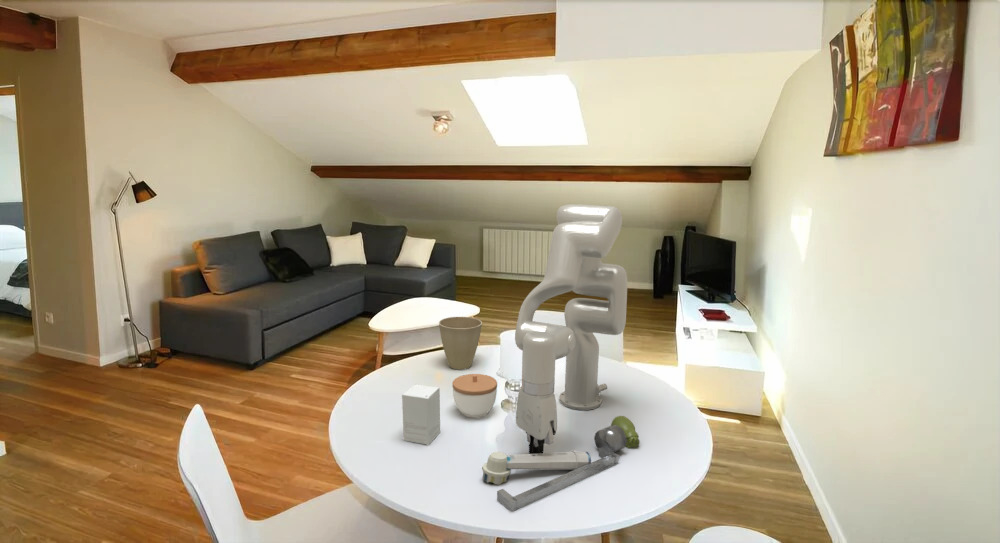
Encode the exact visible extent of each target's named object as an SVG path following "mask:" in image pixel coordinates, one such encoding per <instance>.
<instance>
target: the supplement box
mask: <svg viewBox="0 0 1000 543" xmlns="http://www.w3.org/2000/svg"><path fill="white" fill-rule="evenodd" d="M440 394H441V393H440V387H437V386H430V385H429V386H428V385H422V384H417V383H415V384H414V385H412V386H411V387H410V388H409V389H407V390H406V391H405V392H403V393H402V394H401V399H402V425H403V426H402V427H403V428H402V430H403V431H402V432H403V441H406V442H412V443H417V444H423V445H427V446H428V445H430V444H432V442H433V441H434V440H435V439H436V438H437V437H438V436H439V434H440V433H441V400H440V399H441V398H440V396H441V395H440Z"/></svg>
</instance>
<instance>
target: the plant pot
mask: <svg viewBox="0 0 1000 543" xmlns="http://www.w3.org/2000/svg"><path fill="white" fill-rule="evenodd" d="M438 325H439V326H438V327H439V333H440V339H441V343H442V348H443V351H444V355H445V358H446V360H447V363H448V366H449V367H450V368H451V369H453V370H460V371H461V370H466V369H469V368H470V367H471V365H472V363H473V361H474V358H475V355H476V352H477V349H478V346H479V342H480V338H481V337H480V336H481V332H482V325H483V321H482V320H480V319H479V318H476V317H470V316H450V317H449V316H448V317H446V318H442V319H440V320H439V321H438Z"/></svg>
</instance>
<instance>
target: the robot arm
mask: <svg viewBox="0 0 1000 543" xmlns="http://www.w3.org/2000/svg"><path fill="white" fill-rule="evenodd" d="M556 223H557V225H556V226H555V227H554V229H553V232H552V236H551V242H550V245H549V252H548V256H547V262H546V266H545V272H544V276H543V279H542V281H541V282H540V283H539V284H537V286H535V287H534V288H533V289H532V290H531V291H530V292H529V293H528V295H526V297H525V298H524V300H523V302H522V303H521V306H520V309H519V312H518V317H517V321H516V324H515V325H516V326H515V331H514V332H515V334H514V340H515V341H514V342H515V346H516V347H517V348H518V349H519V350H521V351H522V357H521V358H522V359H521V360H522V362H521V364H522V365H521V386H520V388H519V391H518V394H517V401H516V410H515V424H516V426H517V427H518V428H519V429H521V430H522V431H524V432H525V434H526V439H527V440H526V441H527V442H528V454H539V453H544V448H545V447H544V446H545V444H546V445H547V446H548V445H552V444H554V442H555V440H554V436H556V434H557V428H558V412H557V411H558V409H557V400H556V394H555V382H556V380H555V377H556V360H559V359H562V358H565V374H564V375H565V377H564V379H565V380H564V381H565V382H564V391H562V392H560V394H559V397H558V401H559V402H560V403H561V404H562V405H563V406H564V407H567V408H569V409H572V410H573V409H574V410H578V411H579V410H580V411H588V410H593V409H597V408H599V407H600V406H601V405H602V401H603V399H602V396H600V393H601V392H603V391H607V390H608V384H607V383H603V384H599V383H598V379H599V377H598V376H599V359H600V358H599V355H600V346H599V345H600V344H599V342H598V339H597V337H596V335H595V334H601V335H610V336H618V335H621V334H622V333H623V331H624V330H625V328H626V327H625V326H626V322H627V302H628V274H627V271H626V269H625V268H624V267H623V266H622V265H618V264H615V263H603V262H602V259H603V258H605V257H607V255H609V253H610V252H611V250H612V249H613V248H612V247H613V246H614V244H615V242H616V240H617V238H618V236H619V234H620V232H621V230H622V229H621V228H622V226H623V225H622V224H623V216H622V212H621V210H620V209H619V208H618V207H616V206H613V205H600V204H599V205H595V204H594V205H593V204H579V203H578V204H577V203H572V204H571V203H570V204H565V205H561V206H560V207H559V208H558V210H557V212H556ZM570 292H573V293H575V294H577V295H583V296H589V297H599V298H605V299H607V300H602V299H595V298H587V297H575V298H572V299H570V300H568V301H567V303H566V304H565V307H564V321H565V325H560V324H556V323H555V324H553V323H549V322H548V323H546V322H540V321H533V320H534V316H535V314H536V311H537V309H538V308H539V307H540V306H541V305H542V304H543V303H544V302H545V301H547V300H549V299H551V298H554V297H556V296H560V295H563V294H566V293H570ZM594 333H595V334H594Z"/></svg>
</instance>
